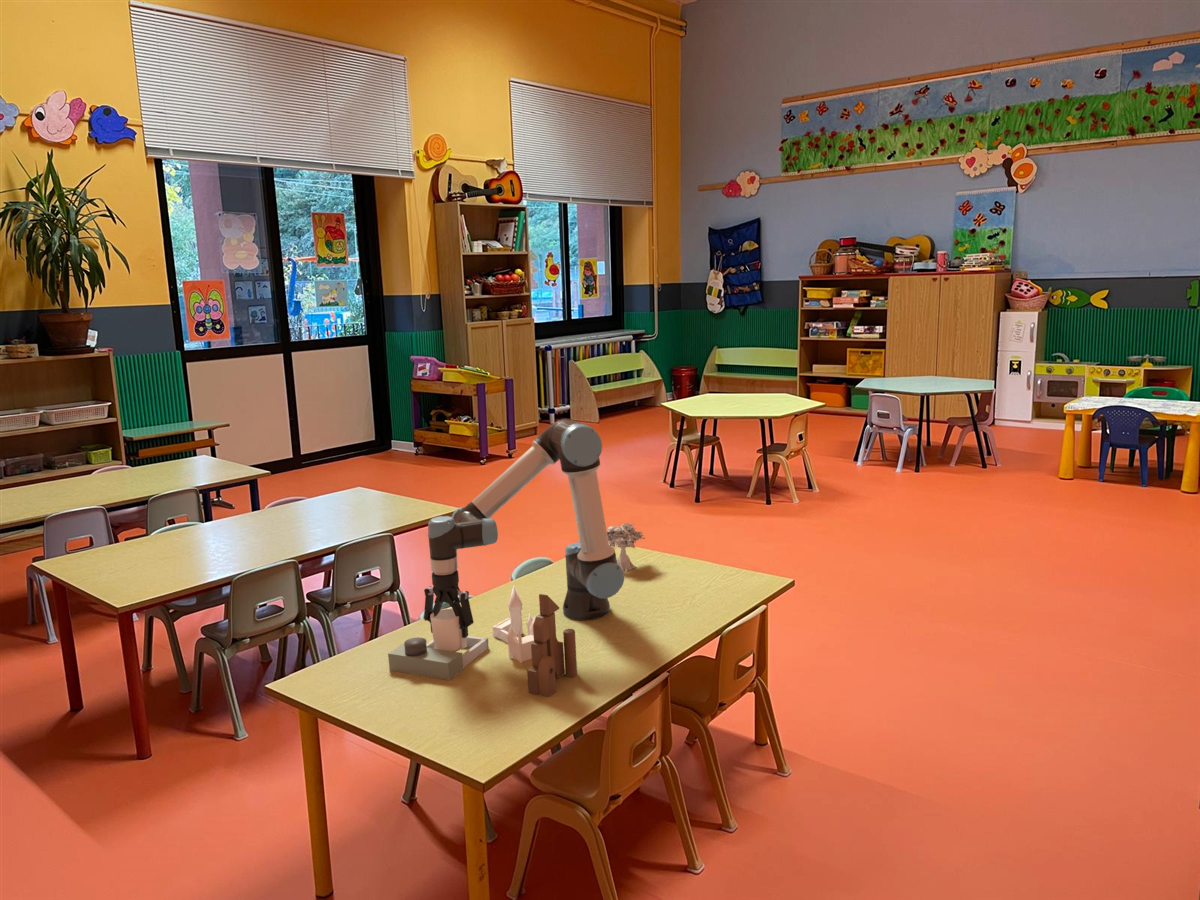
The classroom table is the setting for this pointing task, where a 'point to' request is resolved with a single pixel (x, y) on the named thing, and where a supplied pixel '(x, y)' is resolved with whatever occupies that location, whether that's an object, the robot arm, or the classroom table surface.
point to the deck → (434, 658)
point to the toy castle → (516, 630)
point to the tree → (623, 542)
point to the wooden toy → (550, 651)
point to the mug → (445, 630)
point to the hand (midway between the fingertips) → (450, 645)
